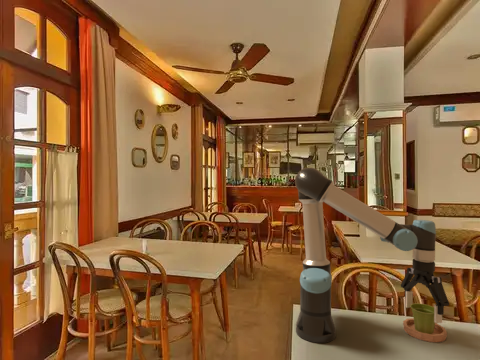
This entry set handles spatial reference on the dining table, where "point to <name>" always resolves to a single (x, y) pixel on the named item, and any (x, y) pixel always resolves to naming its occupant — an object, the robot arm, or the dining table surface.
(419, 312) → the plant pot
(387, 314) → the dining table surface
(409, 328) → the terracotta plant saucer
